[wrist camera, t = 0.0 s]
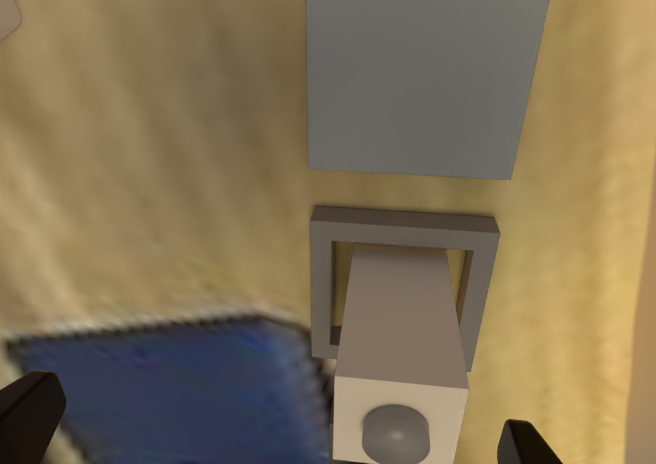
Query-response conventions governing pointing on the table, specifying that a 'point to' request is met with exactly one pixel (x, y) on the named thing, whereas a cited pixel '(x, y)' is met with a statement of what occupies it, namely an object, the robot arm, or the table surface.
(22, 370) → the table surface
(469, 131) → the slate pad
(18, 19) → the joystick
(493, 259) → the collar
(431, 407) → the beige block
